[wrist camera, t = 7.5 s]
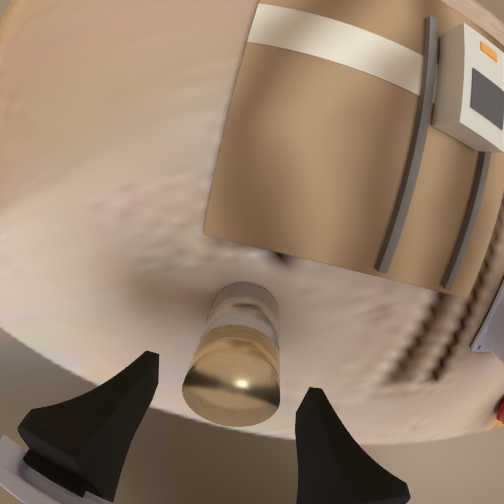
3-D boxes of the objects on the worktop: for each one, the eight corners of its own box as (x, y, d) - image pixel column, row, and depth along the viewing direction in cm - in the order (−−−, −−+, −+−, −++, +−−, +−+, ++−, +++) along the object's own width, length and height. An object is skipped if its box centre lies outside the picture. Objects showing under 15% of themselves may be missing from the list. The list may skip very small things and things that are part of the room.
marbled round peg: (285, 290, 18) (292, 376, 11) (268, 343, 20) (265, 432, 12) (219, 275, 18) (186, 352, 11) (208, 329, 20) (179, 414, 12)
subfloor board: (504, 56, 11) (517, 52, 9) (459, 291, 17) (472, 302, 16) (279, -47, 10) (279, -61, 9) (207, 229, 17) (199, 237, 15)
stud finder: (483, 64, 11) (509, 57, 8) (475, 150, 13) (506, 153, 10) (440, 36, 11) (464, 21, 8) (431, 125, 13) (461, 122, 10)
